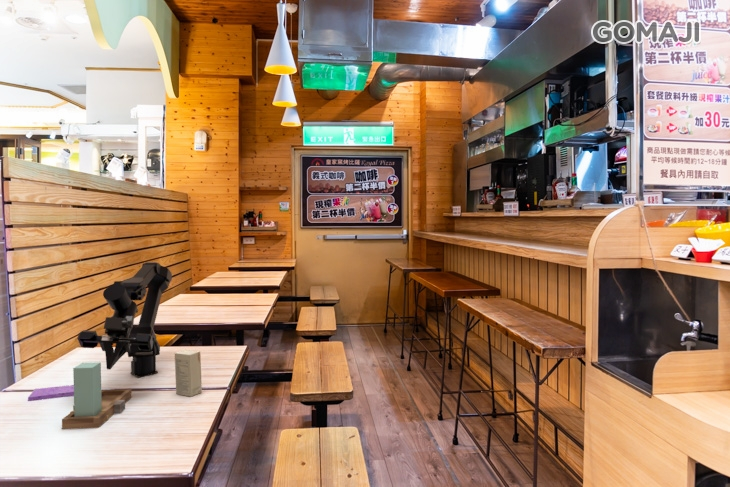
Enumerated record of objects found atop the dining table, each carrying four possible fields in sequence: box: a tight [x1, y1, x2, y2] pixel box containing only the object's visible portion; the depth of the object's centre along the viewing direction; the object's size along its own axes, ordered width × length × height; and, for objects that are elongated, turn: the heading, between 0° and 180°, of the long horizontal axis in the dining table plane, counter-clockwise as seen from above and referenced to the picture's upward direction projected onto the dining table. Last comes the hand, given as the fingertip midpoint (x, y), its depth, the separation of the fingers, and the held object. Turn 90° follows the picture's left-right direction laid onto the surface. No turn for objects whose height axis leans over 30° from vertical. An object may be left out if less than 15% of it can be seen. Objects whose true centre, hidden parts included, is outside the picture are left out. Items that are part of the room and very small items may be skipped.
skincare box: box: [174, 349, 203, 397], centre depth 135 cm, size 6×4×12 cm
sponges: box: [27, 384, 74, 402], centre depth 135 cm, size 7×13×2 cm, turn 111°
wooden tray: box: [61, 388, 133, 430], centre depth 122 cm, size 20×12×3 cm, turn 6°
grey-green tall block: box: [73, 361, 102, 417], centre depth 116 cm, size 4×4×13 cm
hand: (108, 368), depth 127 cm, fingers closed
